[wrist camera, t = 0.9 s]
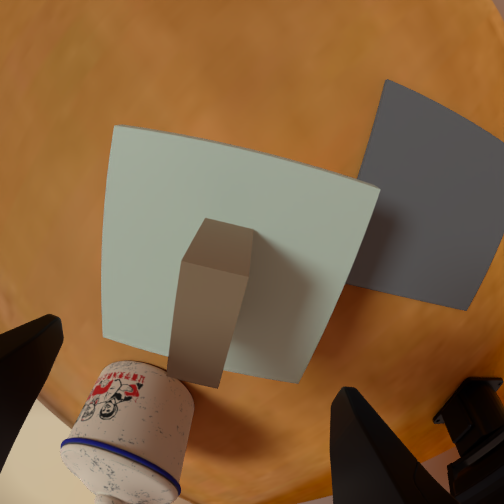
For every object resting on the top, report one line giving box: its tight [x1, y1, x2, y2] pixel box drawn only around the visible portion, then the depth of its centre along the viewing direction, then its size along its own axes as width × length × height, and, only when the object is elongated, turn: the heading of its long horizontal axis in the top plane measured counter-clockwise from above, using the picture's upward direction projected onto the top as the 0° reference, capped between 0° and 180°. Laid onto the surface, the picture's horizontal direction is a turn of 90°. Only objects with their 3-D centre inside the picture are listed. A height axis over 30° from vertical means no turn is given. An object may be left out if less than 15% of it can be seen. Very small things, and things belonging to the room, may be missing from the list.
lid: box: [101, 125, 381, 389], centre depth 12 cm, size 11×11×5 cm
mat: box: [345, 80, 504, 311], centre depth 17 cm, size 12×12×1 cm
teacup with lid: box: [60, 361, 194, 504], centre depth 19 cm, size 12×9×12 cm
